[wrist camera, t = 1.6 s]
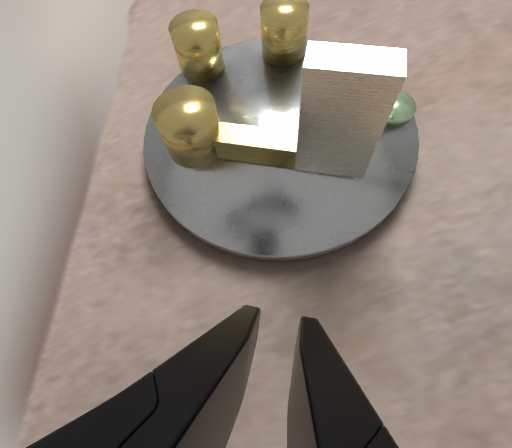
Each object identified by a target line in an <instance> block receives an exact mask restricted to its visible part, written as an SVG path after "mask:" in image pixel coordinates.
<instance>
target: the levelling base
mask: <svg viewBox="0 0 512 448" xmlns="http://www.w3.org/2000/svg"><path fill="white" fill-rule="evenodd" d="M260 16H261V37H262V39H255V40H250V41H246V42H241V43H237V44H234V45H231V46H228V47H225V48H222V46H221V40H220V34H219V28H218V22H217V18H216V17H215V15H214V14H212V13H211V12H209V11H206V10H202V9H192V10H187V11H184V12H182V13H180V14H178V15H176V16H175V17H174V18H173V19H172V20H171V22H170V23H169V33H170V36H171V39H172V42H173V46H174V49H175V52H176V55H177V59H178V62H179V65H180V68H181V71H182V73H181V74H179V75H178V76H177V77H176V78H175V79H174V80H173V81H172V82H171V83H170V84H169V85H168V87H167V88H166V89H165V90H164V92H165V91H167V90H169V89H171V88H173V87H176V86H181V85H196V86H199V87H202V88H204V89H206V90H207V91H209V92H210V93H211V95H212V96H213V98H214V100H215V104H216V109H217V113H218V118H219V122H224V123H232V124H240V125H249V126H257V127H266V128H274V129H282V130H291V131H298V123H299V111H300V99H301V87H302V75H303V65H304V60H305V55H306V51H307V46H308V41H317V40H312V39H307V28H308V16H309V3H308V1H307V0H264V1H263V2H262V4H261V6H260ZM318 42H322V41H318ZM164 92H163V93H164ZM415 111H416V103H415V101H414V99H413V98H412V97H411V96H410V95H408V94H406V93H404V92H401V91H400V93H399V95H398V98H397V100H396V102H395V105H394V107H393V109H392V112H391V114H390V116H389V119H388V121H387V123H386V126H385V128H384V131H383V133H382V135H381V138H380V140H379V142H378V145H377V147H376V149H375V152H374V154H373V156H372V159H371V161H370V163H369V166H368V168H367V171H366V173H365V175H364V178H363V179H361V178H354V177H347V176H339V175H332V174H324V173H317V172H310V171H302V170H295V168H288V167H281V166H274V165H266V164H259V163H251V162H244V161H237V160H229V159H222V158H217V159H216V160H215V161H214V162H213V163H211V164H209V165H207V166H205V167H202V168H196V169H190V168H185V167H182V166H180V165H178V164H176V163H175V162H174V161H173V160H172V158H171V156H170V154H169V152H168V150H167V148H166V146H165V144H164V142H163V140H162V138H161V136H160V133H159V131H158V129H157V127H156V125H155V123H154V121H153V118H152V112H151V114H150V117H149V120H148V123H147V126H146V131H145V136H144V160H145V167H146V170H147V174H148V177H149V180H150V183H151V185H152V187H153V189H154V190H155V192H156V194H157V196H158V198H159V199H160V201H161V202H162V204H163V205H164V207H165V208H166V209H167V211H168V212H169V213H170V215H171V216H172V217H173V218H174V219H175V220H176V221H177V222H178V223H179V224H180V225H181V226H182V227H183V228H184V229H185V230H187V231H188V232H189V233H191V234H192V235H193V236H195V237H196V238H197V239H199V240H201V241H203V242H205V243H206V244H208V245H210V246H212V247H214V248H216V249H219V250H222V251H224V252H227V253H229V254H232V255H236V256H241V257H245V258H249V259H256V260H265V261H294V260H301V259H309V258H314V257H317V256H321V255H325V254H328V253H332V252H334V251H337V250H339V249H341V248H344V247H346V246H349V245H350V244H352V243H354V242H356V241H357V240H359V239H361V238H362V237H364V236H366V235H367V234H368V233H370V232H371V231H372V230H373V229H375V228H376V227H377V226H378V225H380V224H381V223H382V221H383V220H384V219H385V218H386V217H387V216H388V215H389V214H390V213H391V212H392V211H393V209H394V208H395V206H396V205H397V203H398V202H399V200H400V199H401V197H402V196H403V194H404V193H405V191H406V190H407V188H408V186H409V184H410V181H411V179H412V177H413V175H414V171H415V167H416V164H417V160H418V150H419V139H418V129H417V125H416V121H415V117H414V113H415Z"/></svg>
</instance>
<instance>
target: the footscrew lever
mask: <svg viewBox="0 0 512 448" xmlns="http://www.w3.org/2000/svg"><path fill="white" fill-rule="evenodd" d="M406 68H407V49H403V48H391V47H379V46H367V45H354V44H342V43H330V42H318V41H308V46H307V51H306V55H305V60H304V65H303V75H302V87H301V99H300V111H299V123H298V131H291V130H282V129H274V128H266V127H257V126H249V125H240V124H232V123H224V122H219V118H218V113H217V109H216V104H215V100H214V98H213V96H212V95H211V93H210V92H209V91H207V90H206V89H204V88H202V87H199V86H196V85H181V86H176V87H173V88H171V89H169V90H167V91H165V92H164V93H162V94H161V95H160V96H159V97H158V98H157V100H156V101H155V103H154V104H153V107H152V118H153V121H154V123H155V125H156V127H157V129H158V131H159V133H160V136H161V138H162V140H163V142H164V144H165V146H166V148H167V150H168V152H169V154H170V156H171V158H172V160H173V161H174V162H175V163H176V164H178V165H180V166H182V167H185V168H190V169H196V168H202V167H205V166H207V165H209V164H211V163H213V162H214V161H215V160H216V159H217V158H222V159H229V160H237V161H244V162H251V163H259V164H266V165H274V166H281V167H288V168H295V170H302V171H310V172H317V173H324V174H332V175H339V176H347V177H354V178H361V179H363V178H364V175H365V173H366V171H367V168H368V166H369V163H370V161H371V159H372V156H373V154H374V152H375V149H376V147H377V145H378V142H379V140H380V138H381V135H382V133H383V131H384V128H385V126H386V123H387V121H388V119H389V116H390V114H391V112H392V109H393V107H394V105H395V102H396V100H397V98H398V95H399V93H400V91H401V88H402V86H403V83H404V81H405V79H406Z"/></svg>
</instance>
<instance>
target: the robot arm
mask: <svg viewBox="0 0 512 448" xmlns="http://www.w3.org/2000/svg"><path fill="white" fill-rule="evenodd" d="M259 320H260V308H258V307H253V306H248V305H245V306H243V307H242V308H240V309H239V310H237V311H236V312H235V313H233V314H232V315H230V316H229V317H227V318H226V319H225V320H223V321H222V322H220V323H219V324H218V325H216V326H215V327H213V328H212V329H210V330H209V331H208V332H206V333H205V334H203V335H202V336H201V337H199V338H198V339H196V340H195V341H193V342H192V343H191V344H189V345H188V346H186V347H185V348H183V349H182V350H181V351H179V352H178V353H176V354H175V355H174V356H172V357H171V358H169V359H168V360H166V361H165V362H164V363H162V364H161V365H159V366H158V367H157V368H155V369H154V370H153V372H149V373H148V374H146V375H145V376H144V377H142V378H141V379H139V380H138V381H136V382H135V383H133V384H132V385H130V386H129V387H127V388H126V389H124V390H123V391H121V392H120V393H118V394H117V395H115V396H114V397H112V398H110V399H109V400H107V401H105V402H104V403H102V404H101V405H99V406H97V407H96V408H94V409H92V410H91V411H89V412H87V413H85V414H84V415H82V416H80V417H78V418H77V419H75V420H73V421H71V422H70V423H68V424H66V425H64V426H63V427H61V428H59V429H57V430H56V431H54V432H52V433H50V434H49V435H47V436H45V437H43V438H42V439H40V440H38V441H37V442H35V443H33V444H31V445H30V446H28V447H26V448H226V445H227V442H228V439H229V437H230V434H231V431H232V428H233V426H234V423H235V420H236V417H237V415H238V412H239V409H240V406H241V403H242V400H243V397H244V393H245V389H246V385H247V381H248V377H249V372H250V368H251V363H252V359H253V355H254V350H255V346H256V342H257V336H258V328H259ZM287 448H399V447H398V446H397V444H396V443H395V441H394V439H393V438H392V436H391V435H390V433H389V431H388V430H387V428H386V427H385V426H383V422H382V421H381V419H380V418H379V416H378V414H377V413H376V411H375V410H374V408H373V406H372V405H371V403H370V402H369V400H368V399H367V397H366V395H365V394H364V392H363V391H362V389H361V387H360V386H359V384H358V383H357V381H356V380H355V378H354V376H353V375H352V373H351V372H350V370H349V368H348V367H347V365H346V364H345V362H344V361H343V359H342V357H341V356H340V354H339V353H338V351H337V349H336V348H335V346H334V345H333V343H332V342H331V340H330V338H329V337H328V335H327V334H326V332H325V330H324V329H323V327H322V326H321V324H320V323H319V321H318V320H317V319H315V318H310V317H305V316H303V317H301V319H300V324H299V329H298V335H297V340H296V346H295V354H294V361H293V369H292V377H291V384H290V392H289V400H288V415H287Z"/></svg>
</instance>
